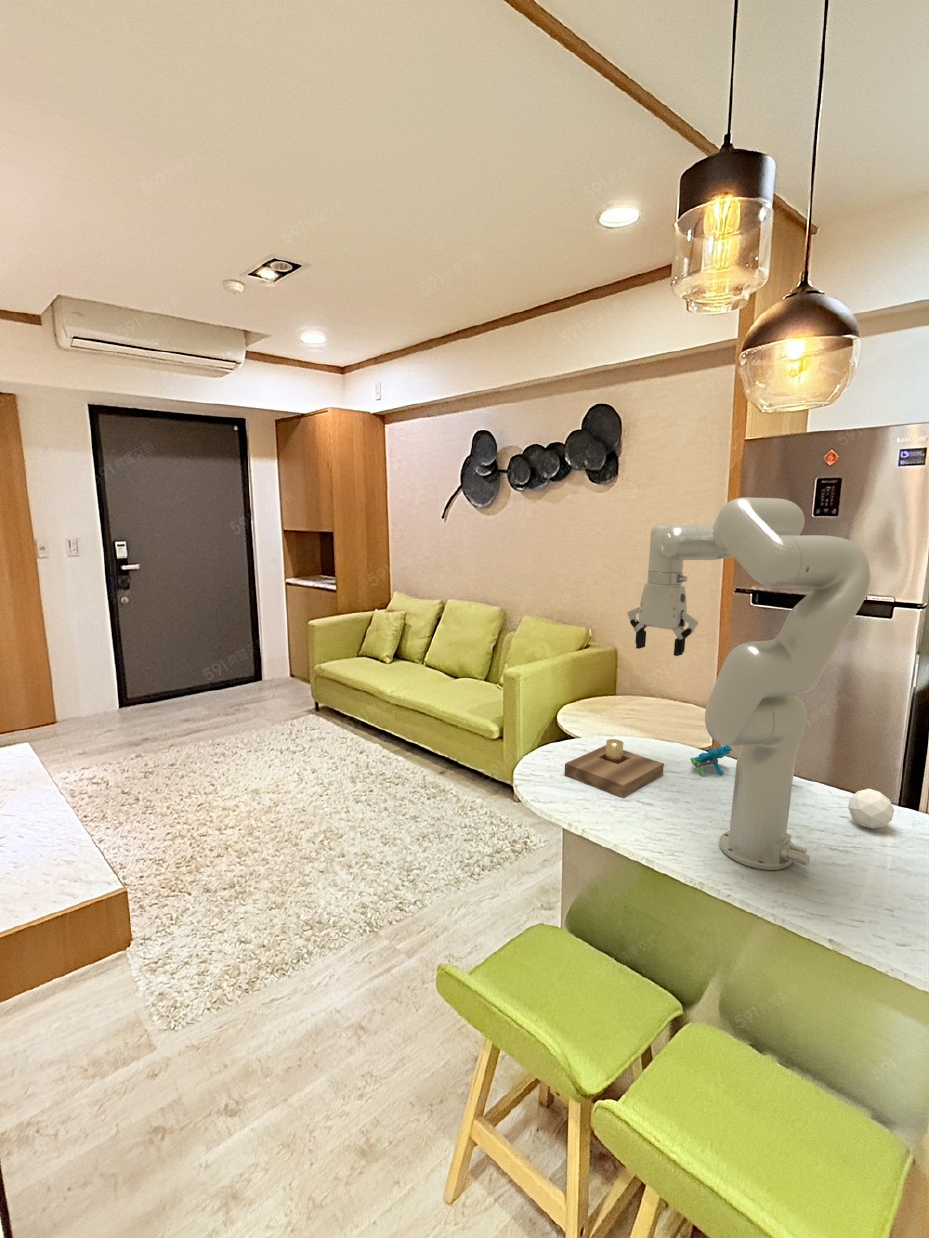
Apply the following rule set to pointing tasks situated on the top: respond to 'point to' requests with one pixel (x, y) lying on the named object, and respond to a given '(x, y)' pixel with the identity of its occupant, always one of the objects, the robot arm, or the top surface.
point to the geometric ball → (871, 808)
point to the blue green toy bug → (711, 758)
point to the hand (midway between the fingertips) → (658, 651)
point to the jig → (614, 771)
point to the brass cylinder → (614, 751)
